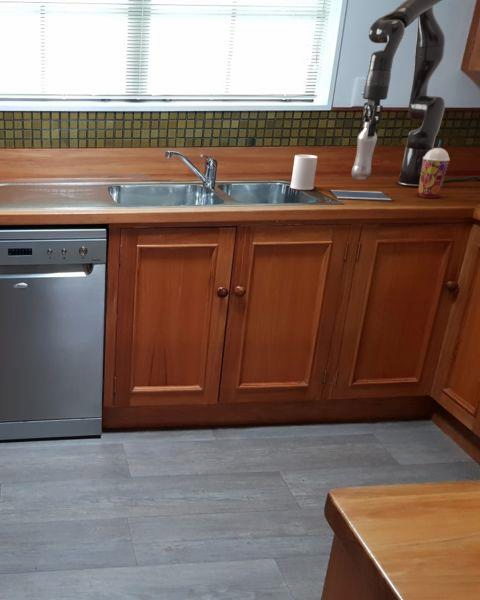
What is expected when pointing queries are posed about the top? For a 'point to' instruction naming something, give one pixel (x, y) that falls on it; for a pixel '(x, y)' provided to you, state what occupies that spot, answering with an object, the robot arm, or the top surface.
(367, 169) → the plastic bottle
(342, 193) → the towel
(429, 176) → the smoothie
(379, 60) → the robot arm
